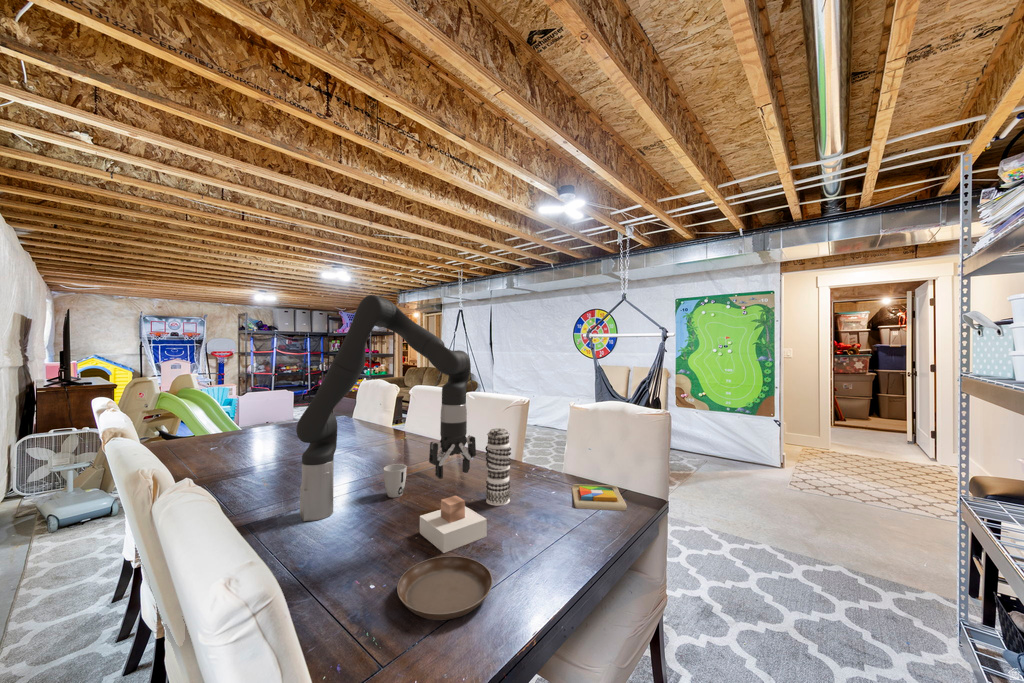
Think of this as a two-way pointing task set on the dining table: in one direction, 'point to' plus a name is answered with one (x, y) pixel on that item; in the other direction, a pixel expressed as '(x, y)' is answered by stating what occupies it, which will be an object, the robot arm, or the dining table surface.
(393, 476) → the cup
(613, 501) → the wooden puzzle
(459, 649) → the dining table surface
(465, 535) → the off-white plinth
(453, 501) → the terracotta cube
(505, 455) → the decorative candle
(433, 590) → the plant saucer
